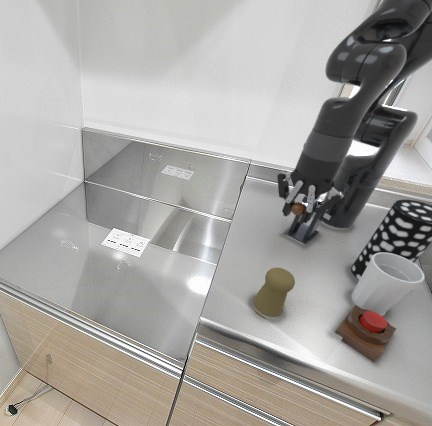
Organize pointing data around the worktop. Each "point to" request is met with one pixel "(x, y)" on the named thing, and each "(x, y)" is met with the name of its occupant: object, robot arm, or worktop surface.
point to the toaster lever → (301, 207)
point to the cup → (386, 282)
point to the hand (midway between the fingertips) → (294, 218)
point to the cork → (273, 292)
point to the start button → (373, 321)
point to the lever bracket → (303, 231)
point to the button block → (364, 335)
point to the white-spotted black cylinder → (399, 234)
